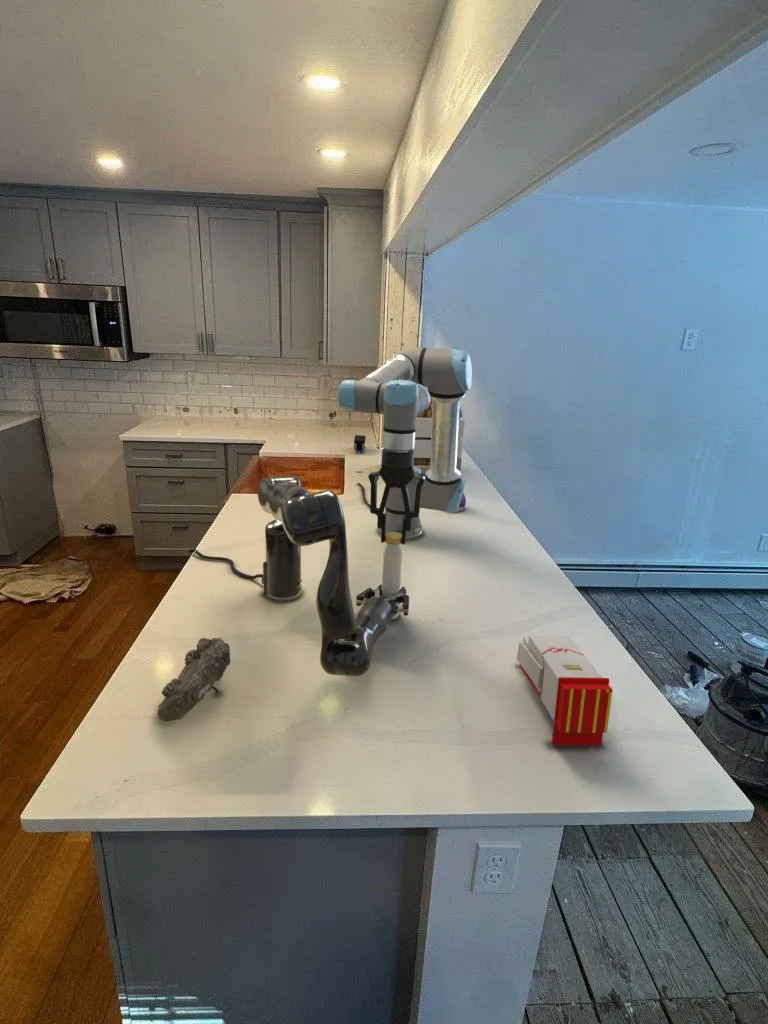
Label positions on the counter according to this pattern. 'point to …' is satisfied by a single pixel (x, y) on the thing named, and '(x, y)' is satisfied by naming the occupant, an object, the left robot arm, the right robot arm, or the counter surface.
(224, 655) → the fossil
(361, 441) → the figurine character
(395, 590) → the bottle
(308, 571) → the counter surface
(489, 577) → the counter surface
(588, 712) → the toy
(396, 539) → the cap
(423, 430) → the white slatted box
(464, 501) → the figurine
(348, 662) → the left robot arm
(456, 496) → the right robot arm
